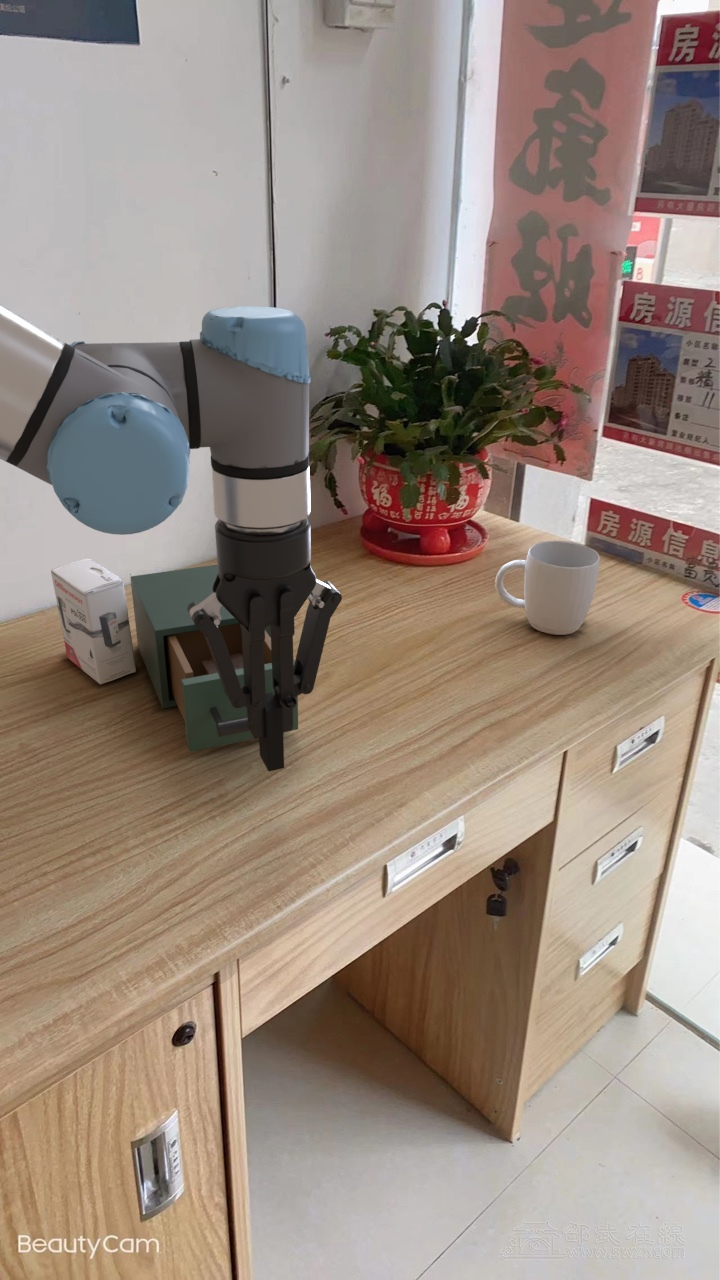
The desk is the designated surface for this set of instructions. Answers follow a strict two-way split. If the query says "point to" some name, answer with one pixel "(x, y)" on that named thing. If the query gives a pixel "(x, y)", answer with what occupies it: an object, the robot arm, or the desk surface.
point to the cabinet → (169, 616)
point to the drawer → (210, 689)
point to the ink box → (94, 619)
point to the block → (210, 667)
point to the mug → (554, 585)
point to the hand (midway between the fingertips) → (271, 761)
